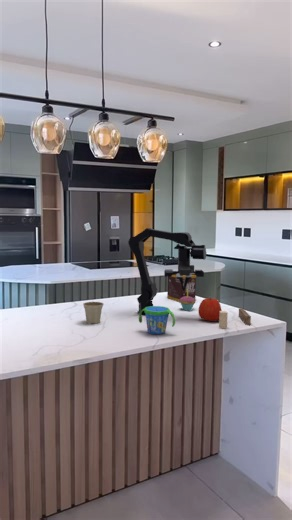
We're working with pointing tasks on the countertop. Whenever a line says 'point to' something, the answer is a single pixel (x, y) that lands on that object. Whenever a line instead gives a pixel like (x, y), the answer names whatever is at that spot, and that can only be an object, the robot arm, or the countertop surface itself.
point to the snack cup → (156, 318)
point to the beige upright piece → (222, 319)
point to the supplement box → (180, 287)
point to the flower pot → (93, 311)
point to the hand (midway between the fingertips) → (183, 290)
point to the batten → (245, 316)
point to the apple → (209, 309)
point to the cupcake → (187, 302)
